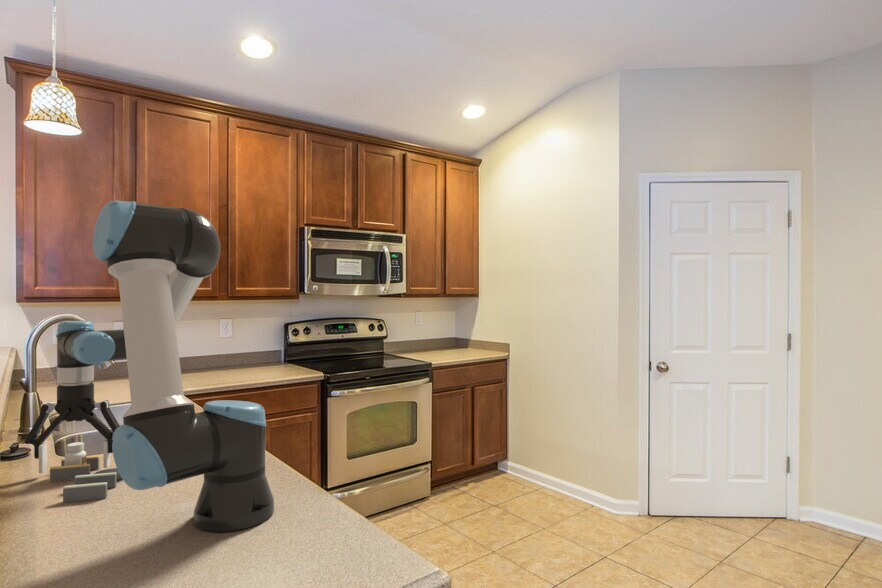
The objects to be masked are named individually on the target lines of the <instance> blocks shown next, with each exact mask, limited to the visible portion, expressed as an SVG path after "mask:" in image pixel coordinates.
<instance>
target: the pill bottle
mask: <svg viewBox="0 0 882 588" xmlns="http://www.w3.org/2000/svg"><path fill="white" fill-rule="evenodd" d="M84 449H85V442H82V441H77V442H71V443H68V444H66V452H67V453H65V454H64V458H65V466H68V465H80V464H86V457H87V451H85V450H84Z"/></svg>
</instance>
